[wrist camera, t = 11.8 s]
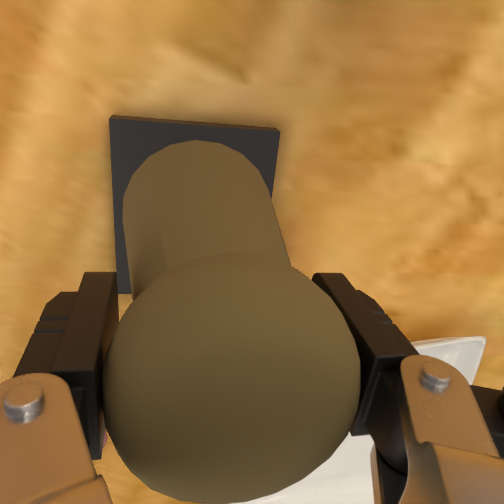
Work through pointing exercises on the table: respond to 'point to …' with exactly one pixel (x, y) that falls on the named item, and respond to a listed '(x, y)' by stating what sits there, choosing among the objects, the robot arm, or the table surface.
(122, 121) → the scale
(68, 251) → the table surface
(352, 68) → the table surface
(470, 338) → the square plate
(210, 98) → the table surface
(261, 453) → the cork
